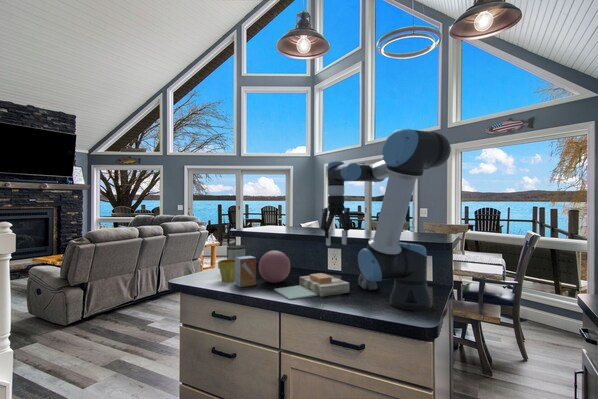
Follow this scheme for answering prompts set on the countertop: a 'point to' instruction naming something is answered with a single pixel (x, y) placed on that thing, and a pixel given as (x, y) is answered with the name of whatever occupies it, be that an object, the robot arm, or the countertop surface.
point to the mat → (295, 292)
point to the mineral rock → (366, 283)
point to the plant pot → (227, 270)
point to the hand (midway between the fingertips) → (336, 244)
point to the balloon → (274, 266)
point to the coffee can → (235, 251)
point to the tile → (320, 278)
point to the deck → (325, 286)
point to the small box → (245, 271)
